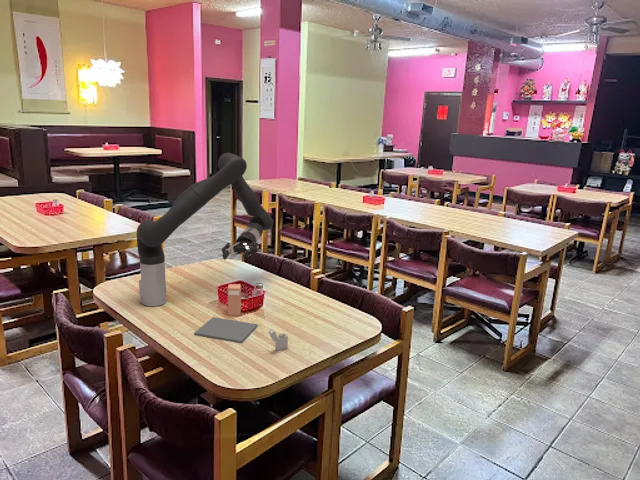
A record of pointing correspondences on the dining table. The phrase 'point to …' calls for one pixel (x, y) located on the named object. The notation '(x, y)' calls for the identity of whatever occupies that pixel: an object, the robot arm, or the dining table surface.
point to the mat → (226, 330)
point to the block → (234, 299)
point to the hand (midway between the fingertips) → (234, 257)
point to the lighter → (279, 340)
